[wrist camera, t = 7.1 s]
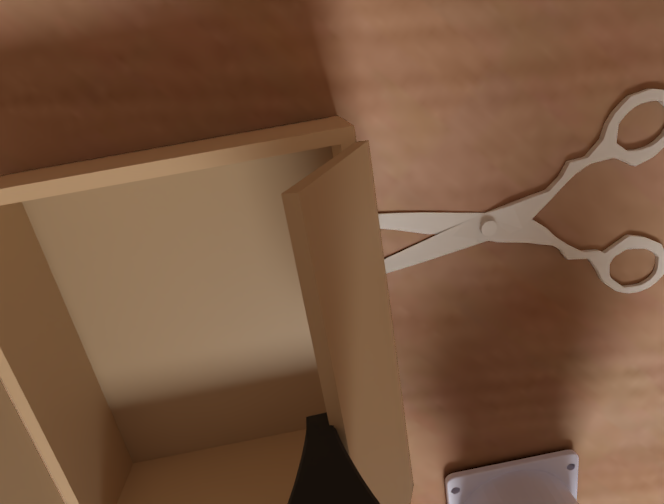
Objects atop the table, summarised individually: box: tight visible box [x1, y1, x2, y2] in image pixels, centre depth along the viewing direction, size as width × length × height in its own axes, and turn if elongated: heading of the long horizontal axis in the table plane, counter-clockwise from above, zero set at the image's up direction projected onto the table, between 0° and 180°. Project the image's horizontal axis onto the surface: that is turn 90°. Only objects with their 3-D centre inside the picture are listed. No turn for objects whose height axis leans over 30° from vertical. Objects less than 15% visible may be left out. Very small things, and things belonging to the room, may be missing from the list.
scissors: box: [378, 89, 664, 293], centre depth 21 cm, size 11×1×20 cm
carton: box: [0, 116, 356, 504], centre depth 19 cm, size 16×14×5 cm
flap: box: [281, 140, 414, 504], centre depth 15 cm, size 15×6×1 cm
